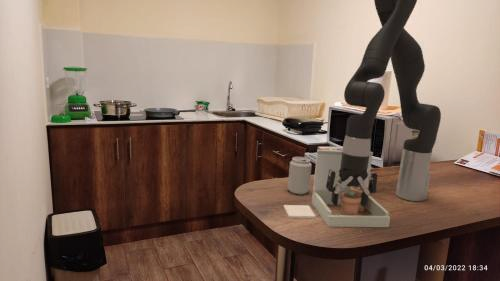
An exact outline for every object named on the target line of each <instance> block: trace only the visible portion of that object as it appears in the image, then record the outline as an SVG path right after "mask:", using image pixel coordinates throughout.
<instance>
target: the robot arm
mask: <svg viewBox="0 0 500 281" xmlns="http://www.w3.org/2000/svg"><path fill="white" fill-rule="evenodd" d="M373 1H374V7H375V10H376V13H377V16H378V18H379V19H378V20H379V22H380V25H381V28H380V29H379V30H378V31H377V32H376V34H374V36H373V37H372V38H371V39H370V41H369V42H368V43H367V46H366V49H365V51H364V53H363V57H362V60H361V63H360V65H359V66H358V68H357V70H355V72H354V74H353V75H352V77H351V78H350V79H349V81H348V83H347V84H346V86H345V88H344V92H343V93H344V94H343V97H344V101H345V103H346V104H347V105H349V106H352V107H359V108H360V107H361V108H365V110H364V111H363V113H362V114H352V115H349V117H348V118H347V120H346V129H345V136H344V139H343V144H342V147H343V151H342V159H341V168H340V170H339V171H333V170H332V169H330V170H329V174H328V179H327V184H326V188H327V189H328V190H329V191H330V192H332V196H331V202H332V203H333V206H335V207H337V206H338V205H337V203H338V196H339V194H338V192H339V191H340V190H341V189H343V188H344V187H345V186H348V187H350V186H354V187H358V186H360V188H361V189H362V191H363V192H362V194H361V203H360V205H361V206H364V207H365V205H367V202H368V196H370V194H375V193H376V192H377V183H378V174H377V173H376V172H375V171H372V170H370V172H367V169H368V162H369V155H370V152H372V150H371V146H372V134H373V128H374V123H375V120H376V117H377V115H378V113H379V110H380V109H381V106H382V104H383V102H384V99H385V92H386V91H385V89H384V86H383V85H382V84H381V83H379V82H374V81H373V82H372V81H371V80H374V79H375V80H376V79H380V78H382V77H383V76H384V75H385V73H386V71H387V68H388V65H389V62H391V67H392V69H393V70H392V71H393V73H394V77H395V80H396V86H397V90H398V95H399V102H400V112H401V119H402V122H403V125H404V126H405V127H406V128H408V129H411V130H415V131H419V132H418V134H417V137H415V138H408V139H406V140H404V141H403V144H402V145H403V147H402V152H401V153H402V154H401V159H400V163H399V164H400V167H399V171H398V178H397V183H396V184H397V185H396V190H395V195H396V196H397V197H398V198H400V199H403V200H406V201H409V202H410V201H412V202H422V201H426V200H427V196H428V192H429V187H430V180H431V176H432V175H431V173H430V172H429V170H430V166H431V165H430V164H431V161H432V160H431V159H432V153H433V149H434V146H435V144H436V140H437V136H438V134H439V128H440V124H441V119H442V114H441V109H440V108H439V106H436V105H433V104H428V103H427V104H426V103H421V102H420V101H419V99H418V94H417V90H418V89H417V88H418V85H419V84H420V81H421V80H422V78H423V76H424V73H425V68H426V65H425V58H424V54H423V50H422V47H421V45H420V44H419V42H418V41H417V39H415V38H414V37H413V36H412V35H411V34H410V33H409V32H408V31H407V30H406V29H405V27H406V24H407V23H408V21H409V18H410V17H411V15H412V13H413V11H414V8H415V7H416V4H417V2H418V0H373ZM338 175H339V177H340V179H339V180H338V181H337V182H336V184H335V185H334V180H335V178H337V176H338ZM367 177H368V178H369V184H368V188H367V186H366V185H365V183H364V180H365V179H366V178H367ZM333 185H334V186H333Z"/></svg>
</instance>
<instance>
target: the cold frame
mask: <svg viewBox="0 0 500 281" xmlns="http://www.w3.org/2000/svg"><path fill="white" fill-rule="evenodd" d="M373 155H374V152H373V151H370V155H369V162H368V169H367V172H371V171H372V170H371V168H372V161H373ZM341 159H342V151H332V150H316V158H315V170H314V178H313V188H312V196H311V204H312V206H313V207H314V208H315V210H316V212H318V215H319V216H320V217H321V219H322V220H323V221H324V223H325V224H326V226H327V227H329V228H331V227H336V228H341V227H344V228H346V227H347V228H389V227H390V224H391V223H390V220H391V217H390V212H389V211H388V210H387V209H385V207H383V206H382V205H381V204H380V203H379V202H378V201H377V200H375V199H374V198H373V197H372V196H371V195H369V196H368V202H367V205H365V210H367V211H368V212H370V215H357V216H354V215H340V214H339V215H338V214H336V215H334V214H333V213H332V212H333V211H332V210H331V208H330V207H329V206H328V205H333V203H332V202H331V196H332V192H330V191H329V190H328V189H327V188H326V184H327V179H328V174H329V170H330V169H332V170H333V171H339V170H340V168H341ZM339 179H340V177H339V175H338V176H337V178H335V180H334V185H335V184H336V182H337V181H338V180H339ZM364 183H365V185H366V186H367V187H368V188H369V178H368V177H367V178H366V179H365V180H364ZM334 185H333V186H334ZM349 191H350V187H348V186H345V187H344V188H343V189H341V190H340V191H339V192H338V194H339V196H338V203H337V206H341V205H342V201H341V194H342V193H344V192H349ZM333 206H334V205H333Z"/></svg>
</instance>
